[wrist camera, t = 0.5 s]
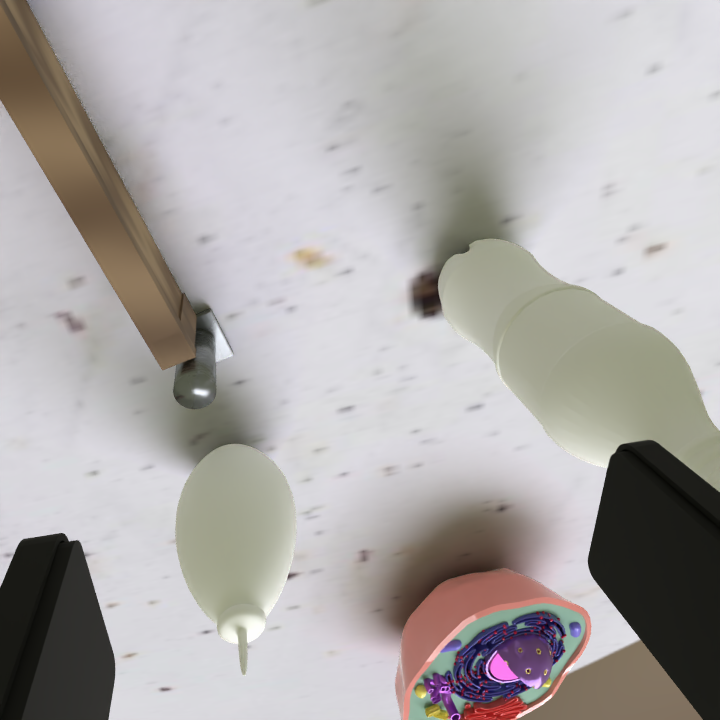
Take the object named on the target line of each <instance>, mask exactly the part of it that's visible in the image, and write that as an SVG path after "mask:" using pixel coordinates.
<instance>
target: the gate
mask: <svg viewBox="0 0 720 720" xmlns="http://www.w3.org/2000/svg"><path fill="white" fill-rule="evenodd" d="M0 100H1V101H2V103H3V105H4V106H5V108H6V110H7V111H8V113H9V115H10V116H11V118H12V120H13V121H14V123H15V125H16V126H17V128H18V130H19V131H20V133H21V135H22V136H23V138H24V140H25V141H26V143H27V145H28V146H29V148H30V150H31V151H32V153H33V155H34V156H35V158H36V160H37V162H38V163H39V165H40V167H41V168H42V170H43V172H44V173H45V175H46V177H47V178H48V180H49V182H50V183H51V185H52V187H53V188H54V190H55V192H56V193H57V195H58V197H59V198H60V200H61V202H62V203H63V205H64V207H65V208H66V210H67V212H68V213H69V215H70V217H71V218H72V220H73V222H74V223H75V225H76V227H77V228H78V230H79V232H80V233H81V235H82V237H83V238H84V240H85V242H86V243H87V245H88V247H89V248H90V250H91V252H92V253H93V255H94V257H95V258H96V260H97V262H98V264H99V265H100V267H101V269H102V270H103V272H104V274H105V275H106V277H107V279H108V280H109V282H110V284H111V285H112V287H113V289H114V290H115V292H116V294H117V295H118V297H119V299H120V300H121V302H122V304H123V305H124V307H125V309H126V310H127V312H128V314H129V315H130V317H131V319H132V320H133V322H134V324H135V325H136V327H137V329H138V330H139V332H140V334H141V335H142V337H143V339H144V340H145V342H146V344H147V345H148V347H149V349H150V350H151V352H152V354H153V355H154V357H155V359H156V360H157V362H158V364H159V365H160V367H161V369H162V370H165V369H167V368H170V367H172V366H175V365H177V364H180V363H182V362H185V361H187V360H190V359H192V358H195V357H196V348H195V335H196V321H197V316H196V314H195V312H194V311H193V309H192V307H191V305H190V303H189V301H188V299H187V297H186V295H185V294H184V293H183V294H182V293H181V291H180V289H179V287H178V285H177V284H176V282H175V280H174V278H173V276H172V274H171V272H170V270H169V268H168V267H167V265H166V263H165V261H164V259H163V257H162V255H161V253H160V252H159V250H158V248H157V246H156V244H155V242H154V240H153V238H152V236H151V235H150V233H149V231H148V229H147V227H146V225H145V223H144V221H143V220H142V218H141V216H140V214H139V212H138V210H137V208H136V206H135V205H134V203H133V201H132V199H131V197H130V195H129V193H128V191H127V189H126V188H125V186H124V184H123V182H122V180H121V178H120V176H119V174H118V173H117V171H116V169H115V167H114V165H113V163H112V161H111V159H110V158H109V156H108V154H107V152H106V150H105V148H104V146H103V144H102V142H101V141H100V139H99V137H98V135H97V133H96V131H95V129H94V127H93V126H92V124H91V122H90V120H89V118H88V116H87V114H86V112H85V110H84V109H83V107H82V105H81V103H80V101H79V99H78V97H77V95H76V94H75V92H74V90H73V88H72V86H71V84H70V82H69V80H68V79H67V77H66V75H65V73H64V71H63V69H62V67H61V65H60V63H59V62H58V60H57V58H56V56H55V54H54V52H53V50H52V48H51V47H50V45H49V43H48V41H47V39H46V37H45V35H44V33H43V32H42V30H41V28H40V26H39V24H38V22H37V20H36V18H35V16H34V15H33V13H32V11H31V9H30V7H29V5H28V3H27V1H26V0H0Z"/></svg>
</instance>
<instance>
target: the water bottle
mask: <svg viewBox="0 0 720 720" xmlns="http://www.w3.org/2000/svg"><path fill="white" fill-rule="evenodd" d="M469 246H470V248H469V251H468V252H466V253H464V254H455V255H453V256H452V257H451V258H450V259H448V260H447V261H446V263H445V264H444V266H443V268H442V271H441V273H440V276H439V280H438V291H439V297H440V300H441V304H442V311H443V315H444V317H445V319H446V320H447V322H448V323H449V324H450V325H451V327H452V328H453V329H454V330H455V331H456V332H457V333H458V334H459V335H460V336H461V337H463V338H464V339H466V340H468V341H469V342H471V343H473V344H475V345H476V346H478V347H479V348H480V349H481V350H483V351H484V352H485V353H486V354H487V355H488V356H489V357H490V358H491V359H492V361H493V362H494V363H495V366H496V370H497V372H498V375H499V377H500V378H501V380H502V382H503V383H504V384H505V386H506V387H507V388H508V389H509V390H510V391H511V392H513V393H514V394H515V396H516V397H517V398H518V399H519V400H520V401H521V402H522V403H523V405H524V406H525V407H526V408H527V409H528V410H529V411H530V412H531V413H532V415H533V416H534V417H535V418H536V419H537V420H538V421H539V422H540V424H541V425H542V426H543V428H544V430H545V432H546V433H547V435H548V436H549V437H550V438H551V439H552V440H553V441H554V442H555V443H556V444H557V445H558V446H560V447H561V448H562V449H563V450H565V451H566V452H568V453H569V454H571V455H573V456H574V457H577V458H579V459H581V460H583V461H586V462H588V463H590V464H593V465H597V466H600V467H604V468H608V464H609V460H610V457H611V455H612V454H614V453H615V452H616V450H617V448H618V447H619V446H620V445H621V444H625V443H631V442H637V441H643V440H654V441H655V442H657V443H659V444H660V445H661V446H662V447H664V448H665V449H666V450H667V451H669V452H670V453H671V454H672V455H674V456H675V457H676V458H677V459H679V460H680V461H681V462H683V463H684V464H685V465H686V466H688V467H689V468H690V469H691V470H693V471H694V472H695V473H696V474H698V475H699V476H700V477H701V478H703V479H704V480H705V481H706V482H708V483H709V484H710V485H711V486H713V487H714V488H715V489H716V490H718V491H719V492H720V431H719V430H718V429H717V427H716V426H715V425H714V424H713V423H712V421H711V419H710V418H709V416H708V414H707V411H706V409H705V406H704V403H703V400H702V397H701V394H700V391H699V388H698V386H697V384H696V381H695V379H694V376H693V374H692V371H691V369H690V367H689V365H688V363H687V362H686V360H685V358H684V357H683V355H682V354H681V352H680V351H679V350H678V348H677V347H676V346H675V345H674V344H673V343H672V342H671V341H670V340H669V339H668V338H666V337H665V336H664V335H663V334H662V333H660V332H659V331H657V330H656V329H654V328H653V327H650V326H647V325H644V324H641V323H639V322H638V321H636V320H635V319H633V318H631V317H630V316H628V315H627V314H625V313H623V312H622V311H620V310H619V309H617V308H615V307H614V306H612V305H610V304H609V303H607V302H606V301H604V300H602V299H601V298H600V297H599V296H597V295H596V294H595V293H593V292H592V291H590V290H588V289H586V288H583V287H580V286H576V285H571V284H568V283H566V282H563V281H561V280H559V279H558V278H556V277H554V276H553V275H551V274H550V273H548V272H547V271H546V270H545V269H544V268H543V267H542V266H541V265H540V264H539V263H538V262H537V260H536V259H535V258H534V256H533V255H532V254H531V253H530V252H528V251H527V250H525V249H524V248H522V247H520V246H518V245H516V244H514V243H512V242H509V241H505V240H501V239H482V240H476V241H474V242H473V243H471V244H469Z"/></svg>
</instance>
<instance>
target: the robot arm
mask: <svg viewBox="0 0 720 720" xmlns="http://www.w3.org/2000/svg"><path fill="white" fill-rule="evenodd" d="M588 567H589V570H590V573H591V575H592V577H593V578H594V580H595V581H596V583H597V584H598V585H599V586H600V588H601V589H602V590H603V592H604V593H605V594H606V595H607V597H608V598H609V599H610V601H611V602H612V603H613V604H614V606H615V607H616V608H617V610H618V611H619V612H620V613H621V615H622V616H623V617H624V619H625V620H626V621H627V622H628V624H629V625H630V626H631V628H632V629H633V630H634V631H635V633H636V634H637V635H638V637H639V638H640V639H641V640H642V641H643V643H644V644H645V645H646V647H647V648H648V649H649V651H650V652H651V653H652V654H653V656H654V657H655V658H656V660H657V661H658V662H659V664H660V665H661V666H662V667H663V669H664V670H665V671H666V672H667V674H668V675H669V676H670V678H671V679H672V680H673V682H674V683H675V684H676V685H677V687H678V688H679V689H680V690H681V692H682V693H683V694H684V695H685V697H686V698H687V699H688V701H689V702H690V703H691V705H692V706H693V707H694V709H695V710H696V711H697V712H698V714H699V715H700V716H701V717H702V719H703V720H720V492H719V491H718V490H716V489H715V488H714V487H713V486H711V485H710V484H709V483H708V482H706V481H705V480H704V479H703V478H701V477H700V476H699V475H698V474H696V473H695V472H694V471H693V470H691V469H690V468H689V467H688V466H686V465H685V464H684V463H683V462H681V461H680V460H679V459H677V458H676V457H675V456H674V455H672V454H671V453H670V452H669V451H667V450H666V449H665V448H664V447H662V446H661V445H660V444H659V443H657V442H655V441H654V440H643V441H637V442H631V443H625V444H621V445H620V446H619V447H618V448H617V450H616V452H615V453H614V454H612V455H611V457H610V460H609V464H608V468H607V473H606V478H605V482H604V487H603V491H602V496H601V501H600V505H599V510H598V515H597V519H596V524H595V528H594V533H593V538H592V542H591V547H590V551H589V556H588ZM114 680H115V659H114V654H113V650H112V647H111V644H110V640H109V637H108V633H107V630H106V627H105V623H104V620H103V616H102V613H101V610H100V606H99V603H98V599H97V596H96V593H95V589H94V586H93V583H92V579H91V576H90V572H89V569H88V566H87V562H86V559H85V555H84V552H83V549H82V546H81V543H80V542H79V541H78V540H76V541H70V542H69V541H68V538H67V536H66V535H65V534H63V533H59V534H53V535H47V536H40V537H34V538H28V539H23V540H22V541H21V542H20V543H19V545H18V547H17V549H16V551H15V554H14V556H13V559H12V561H11V563H10V566H9V568H8V571H7V573H6V575H5V578H4V580H3V583H2V585H1V587H0V720H108V718H109V712H110V706H111V700H112V693H113V687H114Z"/></svg>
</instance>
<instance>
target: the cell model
mask: <svg viewBox="0 0 720 720" xmlns="http://www.w3.org/2000/svg"><path fill="white" fill-rule="evenodd" d="M590 634H591V621H590V617H589V615H588V613H587V611H586V610H585V609H584V608H582V607H580V606H578V605H576V604H574V603H572V602H570V601H568V600H566V599H564V598H563V597H561V596H560V595H558V594H557V593H555V592H553V591H552V590H550V589H549V588H547V587H546V586H544V585H543V584H541V583H540V582H538V581H536V580H534V579H532V578H530V577H527V576H525V575H522V574H519V573H517V572H515V571H513V570H511V569H507V568H500V569H495V570H490V571H486V572H477V573H470V574H466V575H461V576H458V577H454V578H451V579H448V580H446V581H443V582H442V583H441V584H439V585H438V586H436V587H435V589H434V590H433V591H432V592H431V593H430V594H429V595H428V596H427V597H426V598H425V599H424V601H423V602H422V603H421V604H420V605H419V606H418V607H417V608H416V609H415V610H414V612H413V613H412V614H411V615H410V617H409V619H408V620H407V622H406V624H405V626H404V629H403V632H402V637H401V644H400V655H399V662H398V667H397V673H396V679H395V690H396V697H397V701H398V706H399V711H400V715H401V720H516V719H517V718H520V717H521V716H523V715H525V714H527V713H529V712H531V711H532V710H534V709H536V708H538V707H539V706H541V705H542V704H544V703H545V702H547V701H548V700H549V699H550V698H551V697H552V696H553V695H554V694H555V693H556V691H557V690H558V688H559V686H560V684H561V683H562V681H563V679H564V678H565V676H566V675H567V673H568V672H569V670H570V669H571V667H572V666H573V665H574V663H575V662H576V661H577V660H578V658H579V657H580V656H581V655H582V653H583V651H584V649H585V648H586V645H587V643H588V641H589V638H590Z"/></svg>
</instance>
